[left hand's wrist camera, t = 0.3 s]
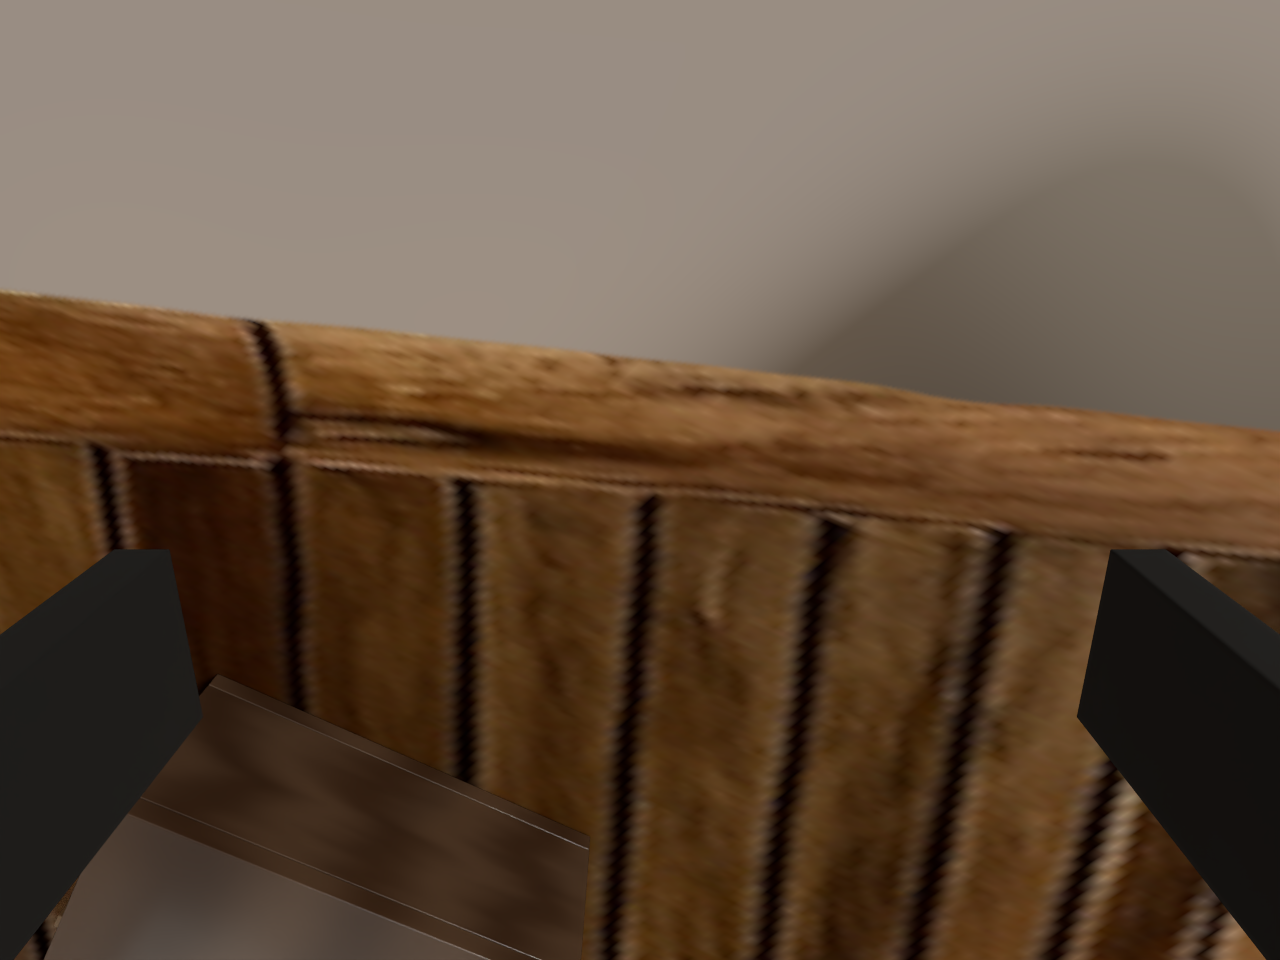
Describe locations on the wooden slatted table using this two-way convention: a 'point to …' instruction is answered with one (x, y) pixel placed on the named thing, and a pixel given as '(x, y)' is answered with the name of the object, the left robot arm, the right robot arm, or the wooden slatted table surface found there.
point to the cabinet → (321, 855)
